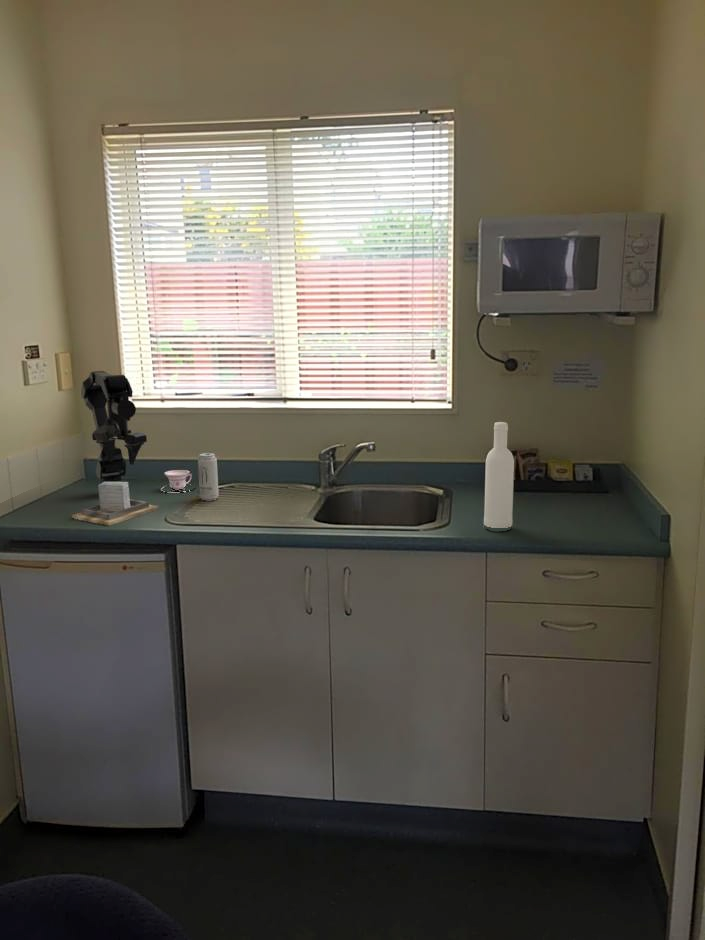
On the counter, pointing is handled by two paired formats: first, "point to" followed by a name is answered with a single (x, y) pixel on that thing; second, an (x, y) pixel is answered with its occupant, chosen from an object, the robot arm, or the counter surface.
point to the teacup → (177, 479)
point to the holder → (115, 513)
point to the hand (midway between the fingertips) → (121, 463)
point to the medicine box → (113, 496)
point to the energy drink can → (208, 476)
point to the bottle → (499, 481)
